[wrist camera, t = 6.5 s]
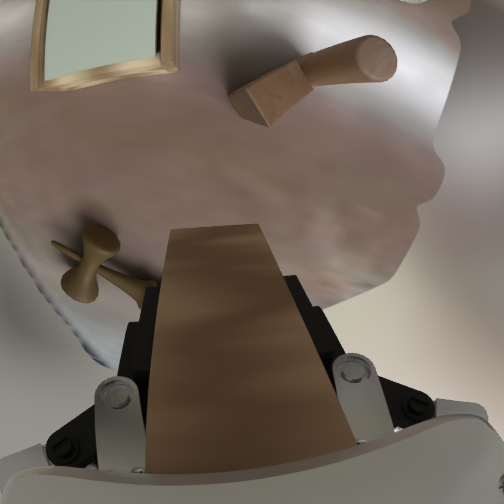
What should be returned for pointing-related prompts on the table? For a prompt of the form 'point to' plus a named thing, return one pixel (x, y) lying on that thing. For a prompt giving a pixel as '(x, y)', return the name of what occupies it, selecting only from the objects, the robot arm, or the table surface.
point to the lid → (98, 34)
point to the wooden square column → (234, 362)
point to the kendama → (98, 268)
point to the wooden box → (157, 65)
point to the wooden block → (314, 77)
